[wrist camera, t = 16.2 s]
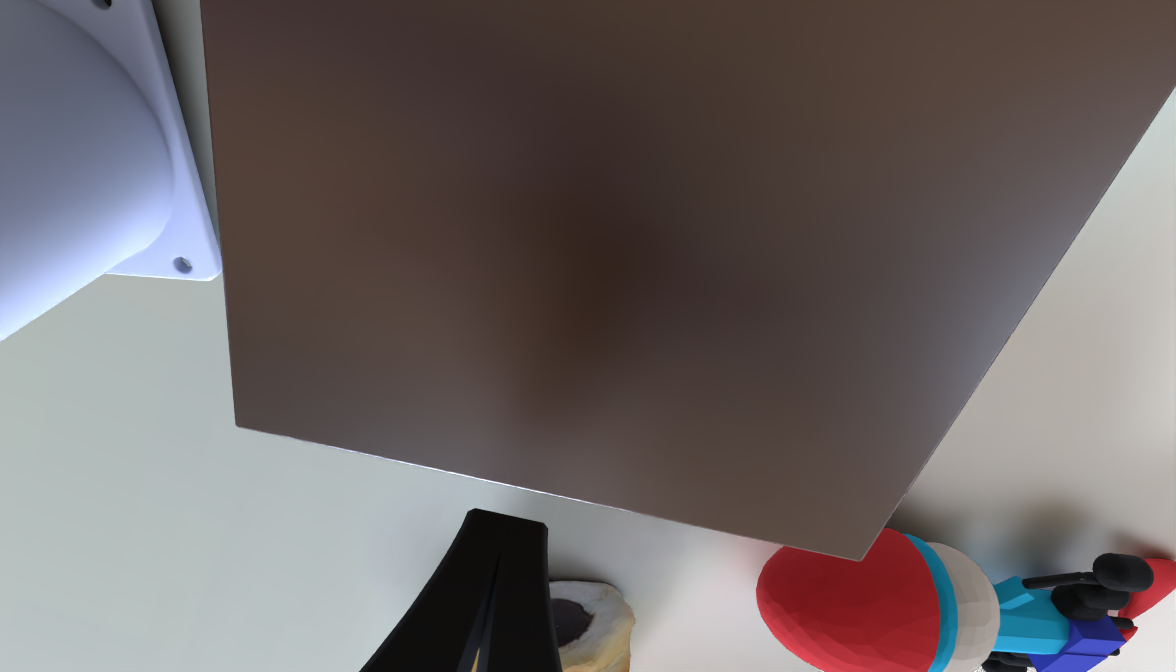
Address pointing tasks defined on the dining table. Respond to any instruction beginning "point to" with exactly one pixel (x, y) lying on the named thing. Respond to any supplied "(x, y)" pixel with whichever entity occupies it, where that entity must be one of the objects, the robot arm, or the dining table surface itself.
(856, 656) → the toy figure
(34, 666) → the dining table surface
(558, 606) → the pastry
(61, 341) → the dining table surface
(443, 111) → the cabinet
